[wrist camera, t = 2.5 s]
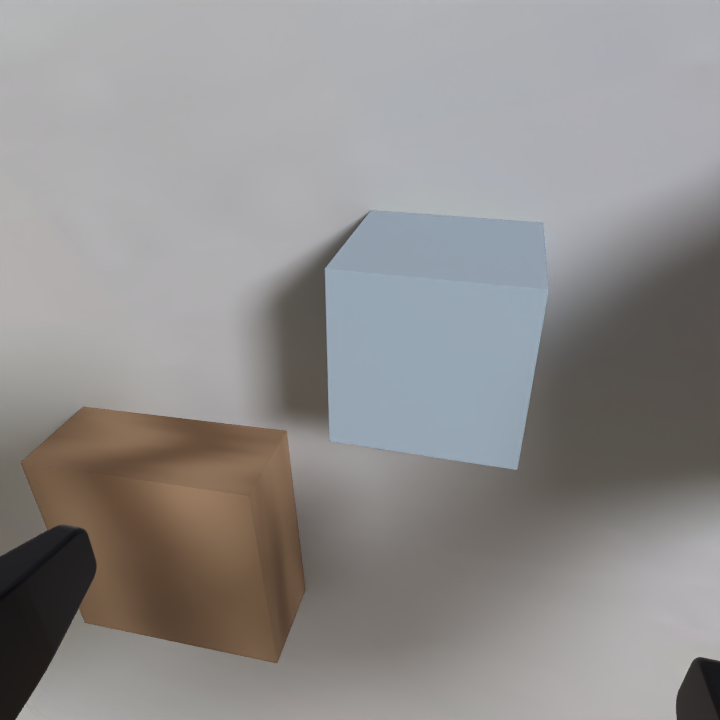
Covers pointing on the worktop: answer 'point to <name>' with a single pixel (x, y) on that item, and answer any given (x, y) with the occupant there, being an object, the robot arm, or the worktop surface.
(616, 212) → the worktop surface
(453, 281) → the slate cube
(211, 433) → the walnut block
